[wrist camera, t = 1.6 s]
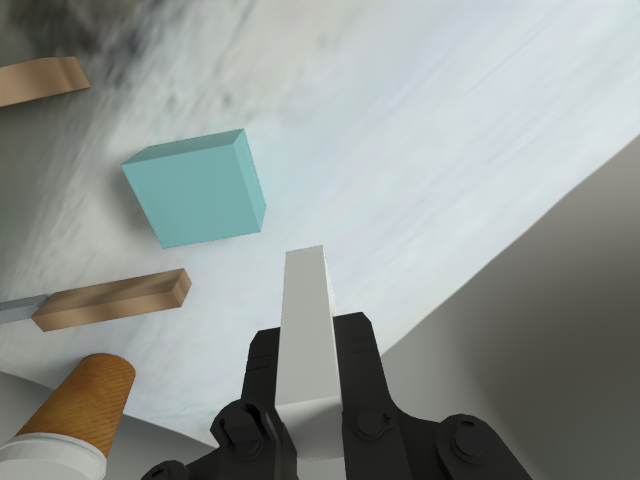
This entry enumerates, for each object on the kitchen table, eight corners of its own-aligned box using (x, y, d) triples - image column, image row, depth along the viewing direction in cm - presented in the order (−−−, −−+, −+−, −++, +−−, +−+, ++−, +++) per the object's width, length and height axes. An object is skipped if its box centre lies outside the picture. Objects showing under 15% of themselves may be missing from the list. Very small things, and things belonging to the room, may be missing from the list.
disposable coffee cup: (53, 373, 40) (-33, 487, 29) (86, 331, 36) (2, 443, 26) (127, 402, 43) (73, 513, 33) (163, 366, 40) (116, 477, 30)
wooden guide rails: (75, 56, 23) (41, 58, 20) (191, 283, 34) (181, 306, 31) (-104, 98, 24) (-163, 105, 21) (66, 307, 34) (43, 331, 31)
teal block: (244, 127, 26) (233, 143, 22) (266, 205, 30) (260, 232, 25) (149, 145, 26) (120, 165, 22) (182, 220, 30) (162, 249, 26)
